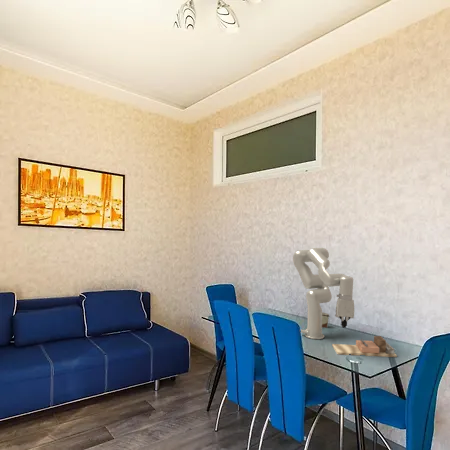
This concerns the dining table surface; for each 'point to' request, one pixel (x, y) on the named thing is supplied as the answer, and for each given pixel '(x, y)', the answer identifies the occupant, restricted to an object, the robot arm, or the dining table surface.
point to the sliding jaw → (367, 346)
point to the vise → (355, 350)
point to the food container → (325, 320)
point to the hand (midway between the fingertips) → (343, 327)
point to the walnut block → (380, 343)
